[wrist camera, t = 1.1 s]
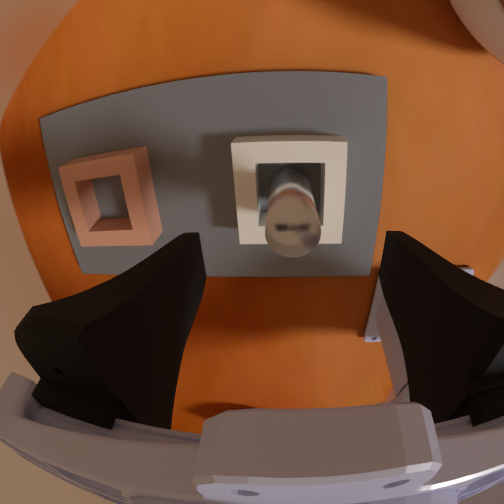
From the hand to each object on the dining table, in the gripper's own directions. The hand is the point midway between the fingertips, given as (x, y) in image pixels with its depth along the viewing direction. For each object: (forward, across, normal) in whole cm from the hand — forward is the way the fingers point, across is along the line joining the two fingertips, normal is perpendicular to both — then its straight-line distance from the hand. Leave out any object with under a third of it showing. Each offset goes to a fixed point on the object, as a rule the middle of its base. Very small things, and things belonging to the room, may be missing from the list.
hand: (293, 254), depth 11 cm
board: (+9, +6, 0) cm, 11 cm away
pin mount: (+8, 0, 0) cm, 8 cm away
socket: (+8, +12, 0) cm, 15 cm away
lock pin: (+8, 0, 0) cm, 8 cm away
